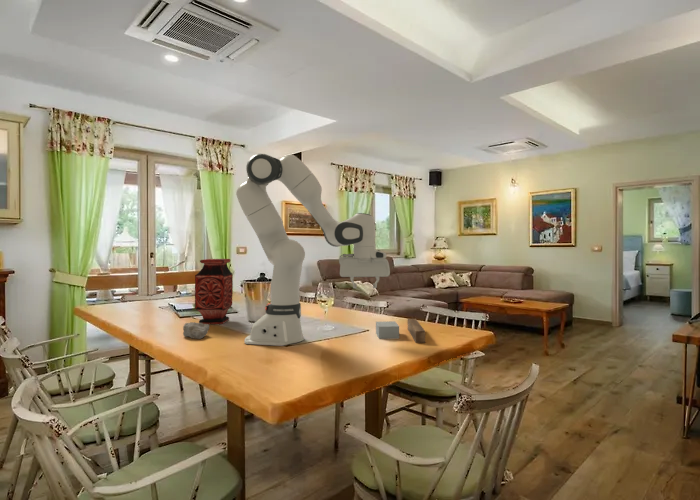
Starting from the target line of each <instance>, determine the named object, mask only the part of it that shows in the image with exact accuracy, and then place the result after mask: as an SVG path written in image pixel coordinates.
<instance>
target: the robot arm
mask: <svg viewBox="0 0 700 500" xmlns="http://www.w3.org/2000/svg"><path fill="white" fill-rule="evenodd" d="M245 169H246V170H245V171H246V175H247V180H246V181H244V182H243V183H241V184H240V185H239V186H238V187H237V189H236V191H235V193H236V194H235V195H236V197H237V200H238V203H239V205H240V208H241V210H242V211H243V214H244V215H245V217H246V219H247V221H248V222H249V224H250V226H251V227H252V229H253V231H254V232H255V234H256V236H257V238H258V241H259V243H260V245H261V247H262V250H263V252H264V254H265V256H266V258H267V259H268V261H269V263H271V264H272V265H273V269H272V276H271V282H270V302H269V303H267V304H266V306H265V307H264V308H265V314H264V315H262V316H261V317H260V318H259V319H258V320H256V321H255V322H254V323H253V324H252V326H251V330H250V334H249V335H247V336H246V337H244V344H246V345H261V346H262V345H263V346H282V347H283V346H286V345H289V344H291V345H292V344H296V343H299V342H301V341H304V340H305V337H304V334H303V330H302V324H301V315H302V306H301V303H300V284H301V283H300V282H301V275H302V271H303V270H302V269H303V263H304V260H305V258H306V257H305V256H306V251H305V249H304V246H302V244H301V243H299V242H298V241H297V240H296V239H295V240H294V239H291V238H289V236H288V234H287V232H286V229H285V225H284V222H283V220H282V217H281V215H280V214H279V212H278V210H277V208H276V207H275V205H274V203H273V201H272V200H271V198H270V196H269V194H268V192H267V186H268V185H269V184H270V183H272V182H275V181H279V182H280V183H282V184H283V185H284V186H285V187H286V188H287V190H288V191H289V193H291V195H293V197H294V198H295V199H296V200H297V201H298V202H299V203H300V204H301V205H303V207H304V208H305V209H306V210H307V212H309V214H310V215H311V217H312V218H313V219H314V220H315V222H316V223H317V225H319V227H320V228H321V230H322V233H323V237H324V239H325V241H326V243H327V244H328V245H330V246H332V247H335V248H336V247H337V248H338V247H345V246H346V247H347V246H351V245H353V253H342V254H341V255H339V257H338V264H339V266H340V267H339V276H340V277H341V278H350V281H351V283H352V288H353V289H357V287H358V286H357V285H358V284H357V282H356V283H355V282H354V279H355V278H360V277H361V278H364V277H366V278H371V277H373V278H374V277H375V280H376V281H375V282H374V283H372V287H373V288H372V289H377V288H378V287H377V286H378V283H379V281H380V277H382V278H384V277H386V278H387V277H390V274H391V269H390V263H389V261H388V259H387V257H388V256H387V252H384V251H381V250H380V249H377V248H376V242H375V238H376V223H375V219H374V216H372V215H371V214H370V213H365V212H357V213H355V214H354V215H352V216H351V217H349V218H348V219H345V220H343V221H337V220H336V219H335V218H334V217H333V216H332V215H331V213H330V212H329V211H328V209H327V208H326V207H325V206H324V204H323V201H322V190H323V189H322V186H321V183H320V182H319V180H318V178H317V177H316V176H315V174H314V173H313V172H312V170H310V169H309V167H308V166H307V165H306V164H305V163H304V162H303V161H302V160H301V159H300V158H298V156H296V155H294V154H287V155H284V156H282V157H281V158H280V159H279V158H276V157H274V156H271V155H269V154H265V153H256V154H254V155H252V156H251V157H250V158H249V159H248V161H247V162H246V168H245Z"/></svg>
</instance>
